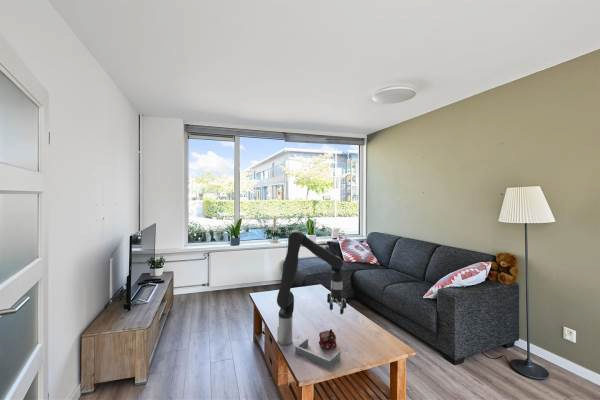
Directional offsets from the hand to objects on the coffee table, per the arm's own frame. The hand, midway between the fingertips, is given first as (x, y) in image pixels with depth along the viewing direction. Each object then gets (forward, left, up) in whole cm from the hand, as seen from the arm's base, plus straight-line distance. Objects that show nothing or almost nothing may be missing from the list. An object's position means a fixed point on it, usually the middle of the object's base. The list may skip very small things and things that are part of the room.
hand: (336, 311), depth 180 cm
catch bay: (-3, -17, -21) cm, 28 cm away
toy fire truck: (-3, -6, -22) cm, 23 cm away
